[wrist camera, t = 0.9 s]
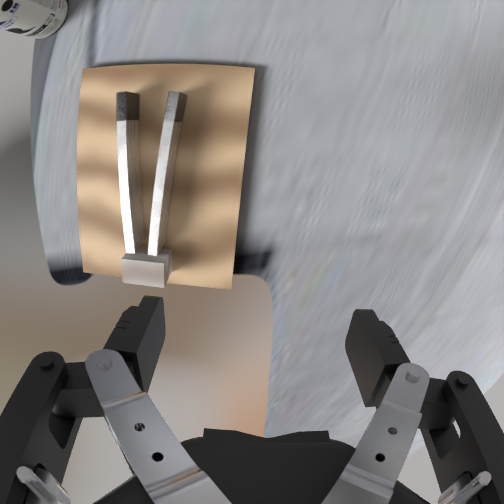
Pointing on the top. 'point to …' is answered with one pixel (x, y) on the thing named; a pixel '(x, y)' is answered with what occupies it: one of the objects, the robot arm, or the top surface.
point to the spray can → (33, 16)
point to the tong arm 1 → (130, 169)
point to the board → (185, 173)
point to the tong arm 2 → (165, 170)
